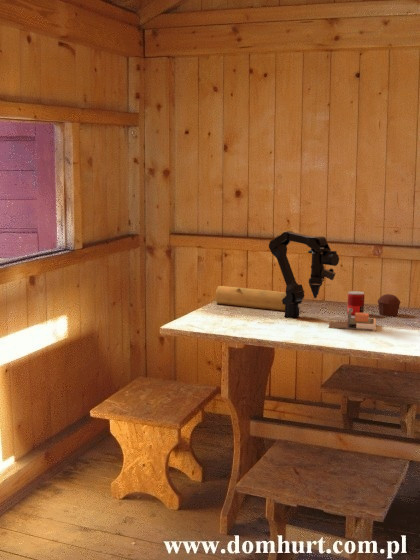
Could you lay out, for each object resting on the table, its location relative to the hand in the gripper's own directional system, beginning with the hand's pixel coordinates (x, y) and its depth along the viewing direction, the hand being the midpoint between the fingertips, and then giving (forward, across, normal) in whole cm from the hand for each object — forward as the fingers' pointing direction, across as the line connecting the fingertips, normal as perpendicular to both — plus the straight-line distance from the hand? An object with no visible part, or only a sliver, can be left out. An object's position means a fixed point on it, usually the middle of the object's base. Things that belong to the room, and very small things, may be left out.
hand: (316, 296), depth 377 cm
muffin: (+12, +28, -34) cm, 46 cm away
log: (+12, +28, +34) cm, 46 cm away
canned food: (+12, +24, -18) cm, 32 cm away
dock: (+13, -6, -17) cm, 23 cm away
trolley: (+11, -6, -21) cm, 24 cm away
